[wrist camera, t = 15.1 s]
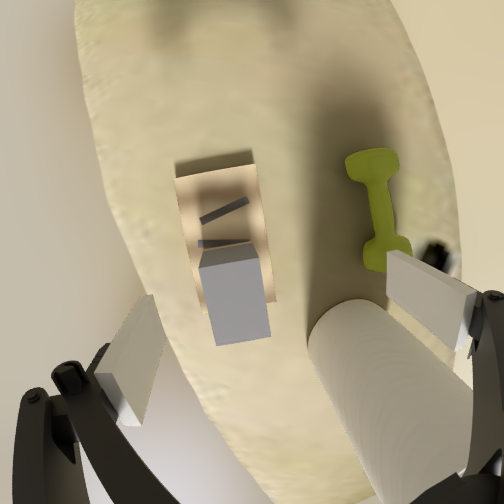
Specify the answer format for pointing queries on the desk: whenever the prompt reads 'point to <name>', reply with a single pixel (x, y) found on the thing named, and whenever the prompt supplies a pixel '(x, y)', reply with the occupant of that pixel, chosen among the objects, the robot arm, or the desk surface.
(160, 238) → the desk surface
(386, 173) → the dumbbell
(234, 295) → the block
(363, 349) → the vase
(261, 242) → the board
